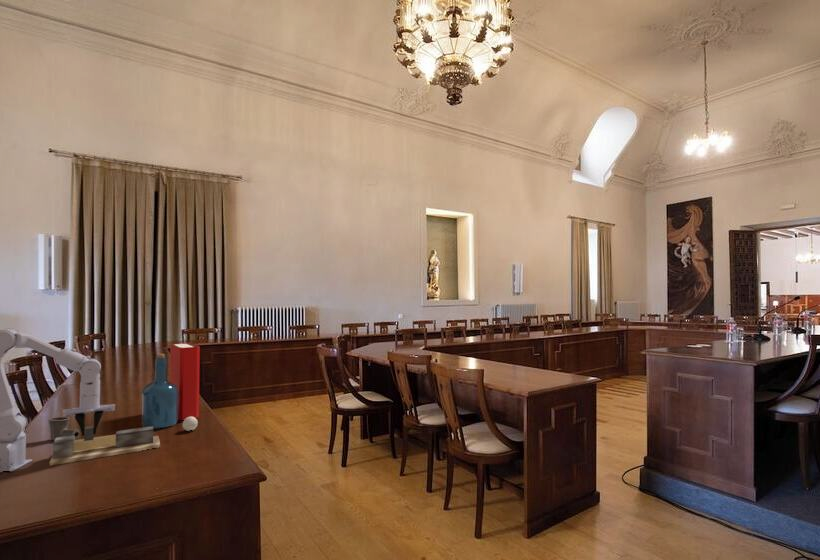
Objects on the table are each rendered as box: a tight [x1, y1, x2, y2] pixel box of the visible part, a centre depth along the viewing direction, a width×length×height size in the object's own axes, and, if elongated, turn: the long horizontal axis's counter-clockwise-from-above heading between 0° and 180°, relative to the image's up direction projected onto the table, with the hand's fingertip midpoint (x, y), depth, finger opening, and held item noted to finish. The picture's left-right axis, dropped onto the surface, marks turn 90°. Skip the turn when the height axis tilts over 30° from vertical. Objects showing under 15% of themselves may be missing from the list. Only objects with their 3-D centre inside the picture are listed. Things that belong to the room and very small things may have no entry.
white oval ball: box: [181, 416, 200, 432], centre depth 179 cm, size 8×6×6 cm
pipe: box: [47, 416, 81, 441], centre depth 168 cm, size 6×13×8 cm, turn 76°
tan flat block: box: [73, 425, 116, 452], centre depth 154 cm, size 20×3×7 cm, turn 122°
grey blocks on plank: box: [49, 426, 161, 467], centre depth 156 cm, size 31×12×6 cm, turn 122°
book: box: [169, 341, 201, 421], centre depth 206 cm, size 27×8×32 cm, turn 37°
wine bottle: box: [141, 353, 179, 430], centre depth 187 cm, size 14×13×30 cm
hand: (88, 434), depth 153 cm, fingers closed on tan flat block, 2 cm apart
